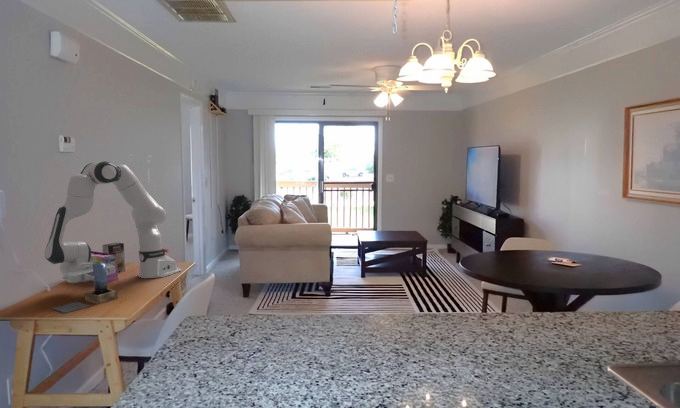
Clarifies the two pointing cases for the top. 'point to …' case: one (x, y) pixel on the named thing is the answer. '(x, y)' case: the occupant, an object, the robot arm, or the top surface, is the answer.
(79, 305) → the charcoal mat
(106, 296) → the oak collar
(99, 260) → the gum box
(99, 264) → the tall blue steel cylinder
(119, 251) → the coffee box
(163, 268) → the robot arm
